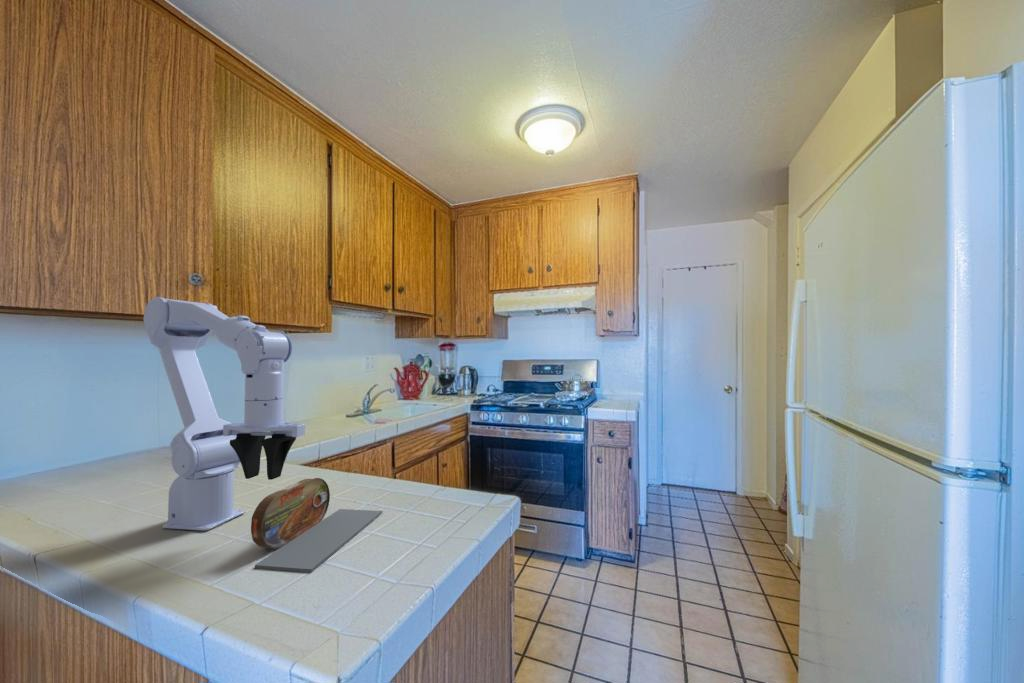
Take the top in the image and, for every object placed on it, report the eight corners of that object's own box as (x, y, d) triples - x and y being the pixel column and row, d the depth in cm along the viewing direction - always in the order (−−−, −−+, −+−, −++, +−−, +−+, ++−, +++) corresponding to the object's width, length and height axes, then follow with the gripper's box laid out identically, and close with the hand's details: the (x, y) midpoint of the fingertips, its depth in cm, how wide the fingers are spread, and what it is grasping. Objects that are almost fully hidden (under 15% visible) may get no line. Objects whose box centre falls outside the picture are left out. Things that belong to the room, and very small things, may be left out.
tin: (263, 559, 55) (264, 502, 56) (245, 557, 56) (246, 501, 56) (331, 517, 70) (331, 472, 70) (316, 515, 71) (317, 471, 71)
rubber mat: (254, 567, 53) (254, 565, 53) (339, 511, 73) (339, 508, 73) (311, 572, 52) (311, 569, 52) (382, 513, 71) (382, 511, 71)
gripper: (207, 401, 62) (205, 483, 62) (284, 401, 60) (282, 486, 59) (243, 397, 69) (242, 470, 68) (313, 397, 67) (312, 473, 66)
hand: (263, 477), depth 64 cm, fingers open, 4 cm apart
